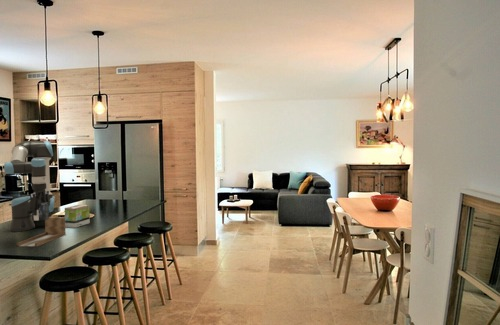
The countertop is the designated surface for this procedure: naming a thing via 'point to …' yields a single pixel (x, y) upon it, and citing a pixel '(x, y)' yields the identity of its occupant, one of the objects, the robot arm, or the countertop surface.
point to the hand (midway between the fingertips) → (40, 218)
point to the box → (42, 211)
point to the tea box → (77, 216)
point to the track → (47, 232)
